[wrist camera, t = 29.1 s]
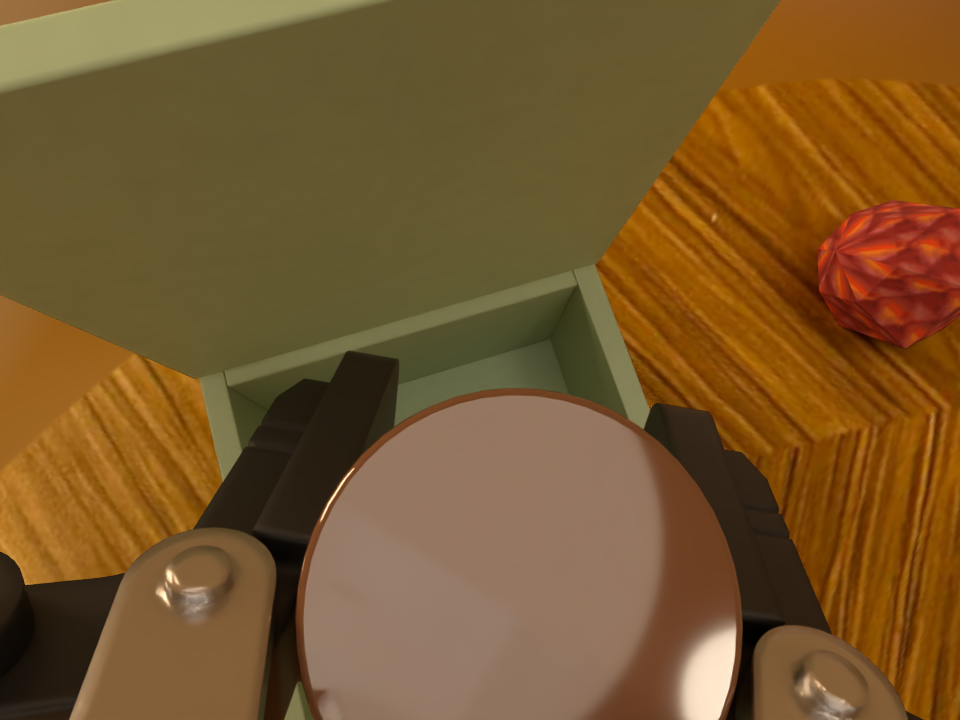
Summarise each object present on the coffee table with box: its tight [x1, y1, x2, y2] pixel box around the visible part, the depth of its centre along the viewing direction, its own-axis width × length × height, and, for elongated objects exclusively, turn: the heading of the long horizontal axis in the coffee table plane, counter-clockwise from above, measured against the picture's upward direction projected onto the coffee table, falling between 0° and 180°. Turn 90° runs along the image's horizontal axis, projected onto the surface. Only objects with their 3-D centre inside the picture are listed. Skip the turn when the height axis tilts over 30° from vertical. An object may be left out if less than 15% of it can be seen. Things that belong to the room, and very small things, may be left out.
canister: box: [295, 387, 743, 720], centre depth 10 cm, size 4×4×10 cm
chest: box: [199, 264, 650, 720], centre depth 25 cm, size 14×14×8 cm
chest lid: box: [0, 0, 781, 379], centre depth 15 cm, size 14×14×5 cm
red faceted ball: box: [817, 200, 960, 348], centre depth 29 cm, size 6×7×8 cm
